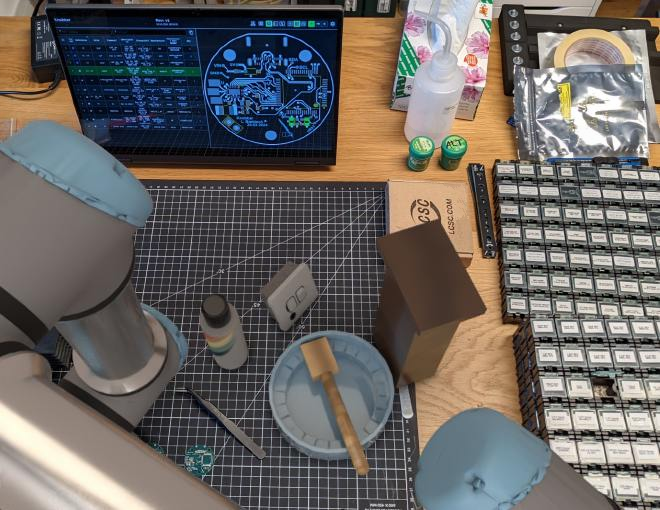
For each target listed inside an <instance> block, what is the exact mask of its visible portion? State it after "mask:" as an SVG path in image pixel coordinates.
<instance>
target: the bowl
mask: <svg viewBox="0 0 660 510" xmlns="http://www.w3.org/2000/svg"><path fill="white" fill-rule="evenodd" d="M323 337H326V338H327V341H328V343H329V346H330V348H331V351H332V353H333V355H334V358H335V360H336V363H337V365H338V368H339V373H338V374H335V375H333V377H334V380H335V382H336V385H337V387H338V390H339V392H340V395H341V397H342V400H343V402H344V405H345V407H346V410H347V412H348V415H349V417H350V420H351V422H352V425H353V427H354V430H355V432H356V435H357V437H358V440H359V442H360V445H361V447H362V449H363V452H364V451H366V450H367V449H368V448H370V447H371V446H372V445H373V444H375V443H376V441H377V439H379V437H380V436H381V434H382V433H384V430H385V428H386V425H387V423H388V420H389V418H390V415H391V413H392V410H393V408H394V407H393V405H394V400H395V399H394V398H395V387H394V385H393V378H392V374H391V372H390V369H389V367H388V365H387V362H386V361H385V359H384V358H383V357H382V355H381V354H380V352H379V350H378V348H377V347H375V346H374V345H372V344H371V343H370V342H369V341H367V340H366V339H365V338H362V337H360V336H358V335H356V334H354V333H351V332H347V331H343V330H342V331H341V330H336V329H335V330H334V329H332V330H331V329H329V330H319V331H315V332H312V333H309V334H306V335H304V336H301V337H300V338H299V339H296V340H295V341H293V342H292V343H291V344H290V345H288V346H287V347H286V349H285V350H283V352H282V353H281V354H280V355H279V356H278V359H277V360H276V361H275V363H274V366H273V368H272V370H271V374H270V378H269V382H268V399H269V400H268V402H269V407H270V410H271V411H270V412H271V415H272V417H273V420H274V424H275V427H276V428H277V430H278V431H279V433H280V434H281V436H282V438H283V439H284V440H285V441H286V442H287V443H288V444H289V445H291V446H292V447H293V448H294V449H295V450H296V451H298V452H300V453H302V454H304V455H305V456H307V457H310V458H312V459H318V460H323V461H340V460H346V459H350V458H351V457H350V454H349V452H348V449H347V447H346V444H345V441H344V439H343V436H342V434H341V431H340V429H339V426H338V423H337V421H336V418H335V416H334V413H333V411H332V408H331V405H330V403H329V400H328V398H327V395H326V392H325V390H324V387H323V385H322V382H321V380H318V381H315V382H312V379H311V376H310V374H309V371H308V368H307V366H306V363H305V361H304V358H303V355H302V353H301V348H300V345H302V344H305V343H308V342H311V341H314V340H317V339H320V338H323Z"/></svg>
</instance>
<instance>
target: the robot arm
mask: <svg viewBox="0 0 660 510" xmlns="http://www.w3.org/2000/svg"><path fill="white" fill-rule="evenodd" d="M153 211H154V201H153V198H152V196H151V194H150V193H149V191H148V189H147V188H146V187H145V185H144V184H143V183H142V182H141V181H140V179H138V177H137V176H136V175H135V174H133V172H132V171H131V170H129V168H127V167H126V166H125V165H124V164H123V163H122V162H120V161H119V160H118V159H117V158H116V157H115V156H114V155H112V154H111V153H110V152H108V151H107V150H106V149H104V147H102V146H101V145H99V144H97V143H96V142H94V141H93V140H92V139H90V138H88V136H85V135H84V134H82V133H81V132H79V131H77V130H75V129H74V128H71V127H70V126H68V125H65V124H63V123H60V122H59V121H55V120H51V119H35V120H30V121H28V122H27V123H25V124H24V125H23V126H22V127H21V128H19V129H18V130H17V131H15V132H14V133H13V134H12V135H11V136H9V137H8V138H7V139H6V140H1V141H0V510H248V509H247V508H245V507H244V506H242V505H241V504H239V503H238V502H237V501H235V500H233V499H232V498H230V497H229V496H227V495H225V494H224V493H222V492H221V491H219V490H218V489H217V488H215V487H213V486H211V485H210V484H209V483H207V482H206V481H204V480H203V479H201V478H200V477H198V476H196V474H194V473H192V472H190V471H189V470H187V469H186V468H184V467H183V466H182V465H180V464H179V463H177V462H175V461H174V460H172V459H171V458H170V457H167V456H166V455H165V454H163V453H161V452H160V451H159V450H157V449H155V448H154V447H152V446H151V445H150V444H148V443H146V442H145V441H143V440H142V439H141V437H140V436H139V435H138V434H136V433H135V432H134V430H135V429H136V428H137V426H138V425H139V423H140V422H141V421H142V419H143V418H145V415H147V413H148V411H150V409H151V408H152V406H153V405H154V403H155V402H156V401H157V400H158V398H159V397H160V395H161V394H162V393H163V392H164V390H165V389H166V387H168V384H169V383H170V382H171V381H172V379H173V378H174V377H175V376H176V375H177V373H179V372H180V370H181V369H182V367H183V364H184V362H185V361H186V359H187V357H188V355H189V350H190V349H189V343H188V340H187V338H186V337H185V335H184V333H183V332H182V331H180V330H179V327H178V326H177V325H176V324H175V323H174V322H173V321H172V320H171V319H170V318H168V317H167V316H166V315H165V314H164V313H162V312H161V311H159V310H157V309H156V308H155V307H152V306H150V305H148V304H146V303H143V302H140V300H139V297H138V295H137V292H136V289H135V288H134V285H133V283H132V280H131V279H132V278H133V275H134V271H135V268H136V261H137V250H136V245H135V241H134V237H133V235H134V234H135V233H136V232H137V230H139V228H144V227H145V226H146V225H147V220H148V219H149V217H150V216H151V215H152V213H153ZM53 327H54V328H56V330H57V331H58V332H59V334H60V335H61V336H62V337H63V338H64V340H65V341H66V342H67V343H68V345H69V346H70V347H71V348H72V361H73V365H72V367H71V368H70V369H69V370H68V371H67V373H66V374H65V375H64V376H63V378H62V379H61V380H60V382H59V383H58V384H56V383H55V382H53V377H52V376H53V374H52V367H51V364H50V362H49V360H48V359H46V357H45V356H43V355H42V354H40V353H39V352H37V351H35V350H34V348H35V347H36V346H38V344H39V343H41V341H42V340H43V339H44V338H45V336H46V335H47V334H48V333H49V332H50V331H51V330H52V329H53ZM416 465H417V466H416V467H417V470H418V472H417V473H416V474H415V477H414V484H413V485H414V492H415V496H416V499H417V501H418V503H419V504H420V505H421V506H422V508H423V509H424V510H626V509H625V508H624V507H623V506H621V505H620V504H619V503H618V502H616V501H615V500H614V499H612V498H611V497H610V496H608V495H607V494H605V493H603V491H599V490H598V489H597V488H596V487H595V486H594V485H593V484H592V483H590V481H588V480H587V479H586V478H585V477H583V476H582V475H581V474H580V473H579V472H578V471H576V469H574V468H573V467H572V466H571V465H570V464H569V463H568V462H567V461H565V460H564V459H563V458H562V457H561V456H560V455H559V454H558V453H557V452H555V451H554V450H553V449H552V448H551V447H550V446H549V445H548V443H547V442H545V441H544V439H541V438H540V437H538V436H536V435H534V434H533V433H532V432H530V431H529V430H528V429H526V428H525V427H524V426H522V425H521V424H519V423H518V422H517V421H516V420H514V419H512V418H510V417H509V416H507V415H505V414H504V413H503V412H501V411H499V410H497V409H494V408H491V407H485V406H482V407H473V408H468V409H464V410H463V411H460V412H458V413H456V414H454V415H453V416H451V417H450V418H449V419H447V420H446V421H445V422H443V423H442V424H441V425H440V426H439V427H438V428H437V429H436V430H435V432H434V433H433V434H432V435H431V437H429V439H428V441H427V443H426V444H425V445H424V447H423V449H422V451H421V454H420V455H419V458H418V461H417V464H416ZM340 510H346V509H345V508H340Z"/></svg>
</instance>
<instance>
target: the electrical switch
mask: <svg viewBox="0 0 660 510" xmlns="http://www.w3.org/2000/svg"><path fill="white" fill-rule="evenodd" d="M258 291H259V295H260V297H261V299H262V301H263V303H264V305H265V307H266V308H267V310H268V313H269V315H270V316H271V318H272V319H274V320H275V321H276V322H277V323H278V327H279V328H280V330H281V331H284V332H287V331H288V330H289V329H290V328H291V327H292V326H293V325H294V324H295V323H296V321H298V319H300V318H301V316H303V314H304V313H305V312H306V311H307V309H308V308H309V307H310V306H311V305H312V304H313V303H314V302H315V301H316V299H318V297H319V294H320V293H319V290H318V288H317V285H316V283H315V280H314V278H313V275H312V272H311V270H310V267H309V265H308V264H307V263H305V262H303V261H302V262H301V263H300V264H297V263H294V262H293V261H291V260H288V261H287V262H285V264H284V265H283V266H282V267H281V268H280V269H279V270H278V271H277V272H276V273H275V275H273V277H272V278H271V279H270V280H269V281H267V283H266V284H265V285H264V286H263V287H262V288H261V289H260V290H258Z"/></svg>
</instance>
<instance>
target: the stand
mask: <svg viewBox="0 0 660 510" xmlns="http://www.w3.org/2000/svg"><path fill="white" fill-rule="evenodd" d="M374 244H375V246H376V248H377V251H378V252H379V255H380V257H381V259H382V261H383V264H384V265H385V268H384V274H383V278H382V283H381V289H380V296H379V299H378V300H379V301H378V305H377V311H376V315H375V321H374V326H373V331H372V338H373V340H374V342H375V343H374V344H375V345H376V349H377V350H378V352H379V353H380V354H381V355H382V357H383V358H384V359H385V361H386V362H387V365H388V367H389V369H390V372H391V374H392V378H393V385H394V390H397V389H401V388H403V387H407V386H409V385H412V384H414V383H418V382H419V381H422V380H426V379H428V378H431V377H434V376H435V374H436V372H437V370H438V368H439V366H440V364H441V362H442V360H443V358H444V356H445V354H446V352H447V350H448V349H449V346H450V344H451V342H452V340H453V338H454V336H455V334H456V332H457V331H458V328H459V326H460V324H461V323H463V322H465V321H468V320H472V319H474V318H477V317H480V316H483V315H485V314H486V312H487V310H488V308H487V306H486V304H485V302H484V300H483V298H482V297H481V295H480V293H479V290H478V289H477V287H476V285H475V283H474V282H473V280H472V277H471V276H470V274H469V272H468V270H467V268H466V266H465V265H464V263H463V260H462V259H461V257H460V255H459V253H458V252H457V249H456V248H455V246H454V243H452V240H451V238H450V237H449V235H448V233H447V231H446V228H445V227H444V225H443V223H442V222H441V220H440V218H436V219H433V220H429V221H425V222H423V223H419V224H416V225H413V226H410V227H407V228H404V229H400V230H398V231H394V232H391V233H389V234H384V235H382V236H378V237H376V238H375V243H374Z"/></svg>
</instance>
